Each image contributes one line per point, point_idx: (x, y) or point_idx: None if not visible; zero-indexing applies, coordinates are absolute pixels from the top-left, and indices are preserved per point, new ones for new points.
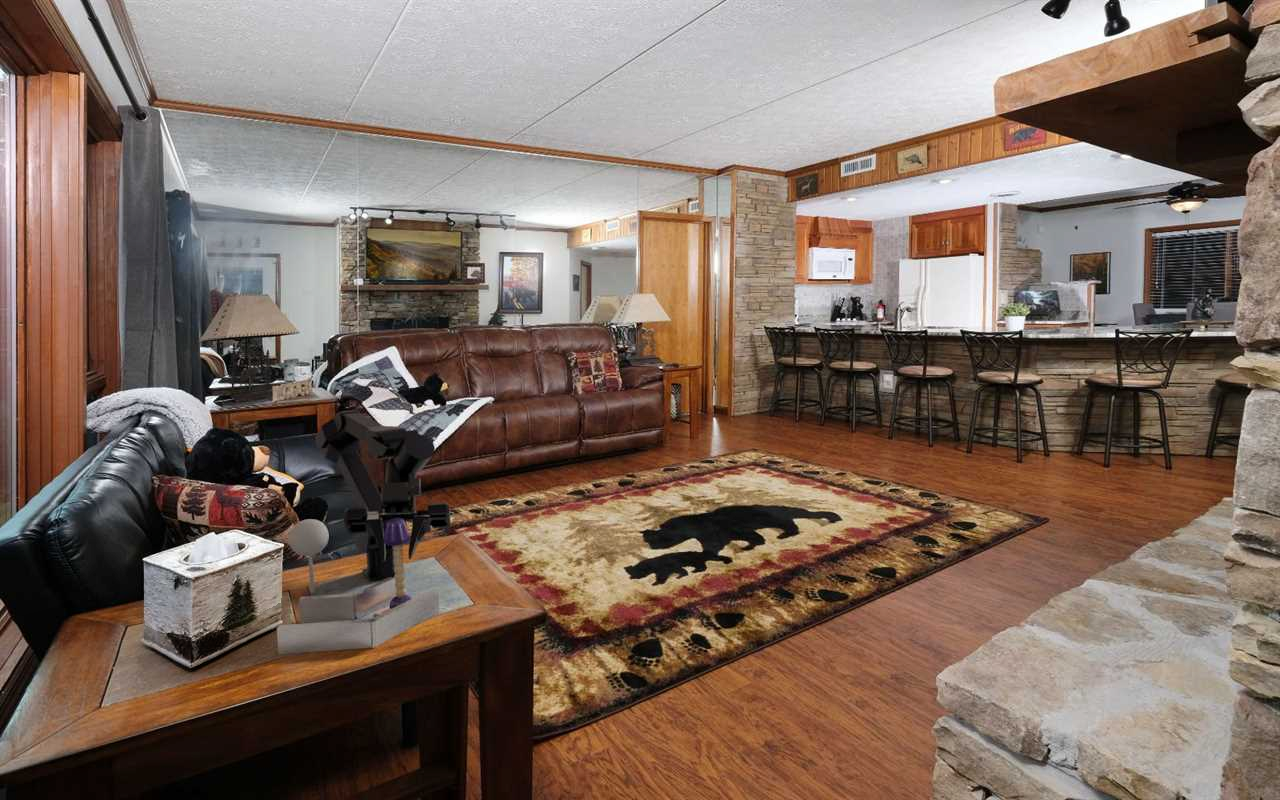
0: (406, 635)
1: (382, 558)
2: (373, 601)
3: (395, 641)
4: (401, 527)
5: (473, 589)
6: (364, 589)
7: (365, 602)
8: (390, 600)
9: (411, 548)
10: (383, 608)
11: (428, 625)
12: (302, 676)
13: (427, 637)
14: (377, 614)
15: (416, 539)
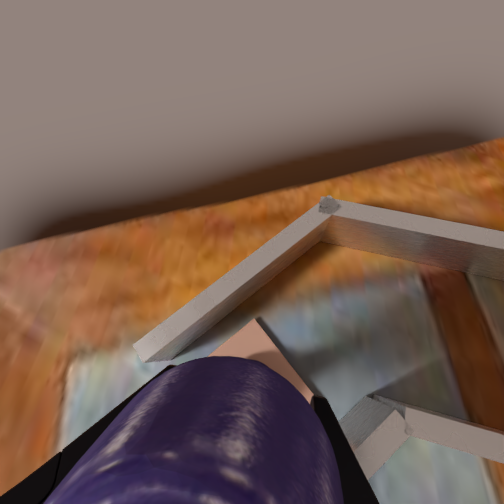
0: (250, 254)
1: (324, 398)
2: None
3: (274, 236)
4: (118, 424)
5: None
6: (370, 463)
7: (354, 427)
8: None
9: None
10: None
11: (199, 283)
12: (434, 170)
13: (212, 230)
14: (312, 394)
15: (61, 454)
